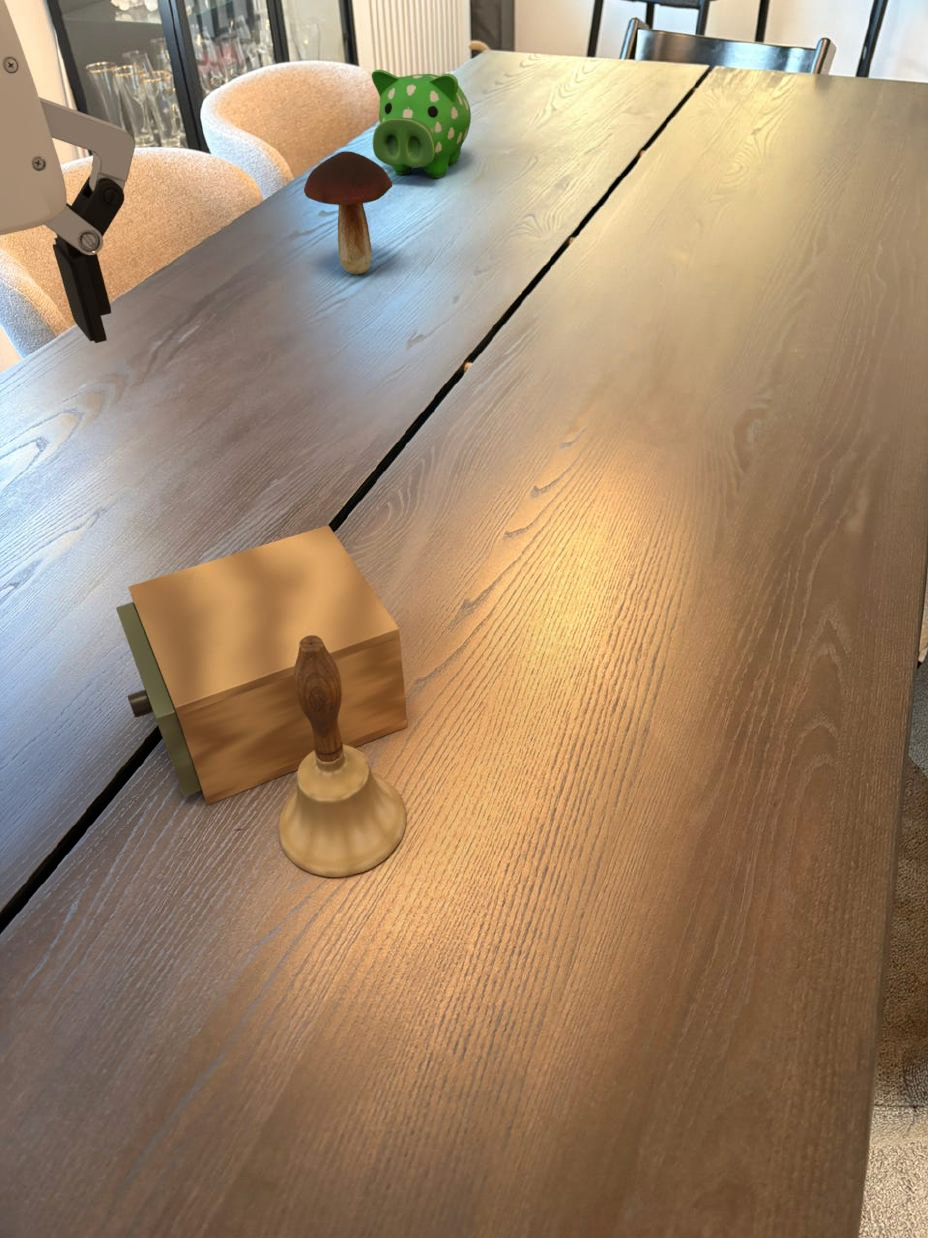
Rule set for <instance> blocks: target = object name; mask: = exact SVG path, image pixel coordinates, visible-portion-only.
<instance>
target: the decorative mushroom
mask: <svg viewBox="0 0 928 1238" xmlns="http://www.w3.org/2000/svg"><path fill="white" fill-rule="evenodd" d="M391 188H393V182H392V180H391V178H390V176H389V175H388V173H387V172H386V170H385V169H384V168H383V167H382V166H381V165H379V164H378V163H377V162H375V161H374V160H372V159H371V158H369V157H367V156H365V155H363V154H360V153H357V152H355V151H346V150H345V151H344V150H343V151H339V152H337V153H336V154H334V155H332V156H330V157H328V158H327V159H325V160H324V161H322V162H321V163H319V164H318V165H317V166H316V167H315V168H313V170H311V172H310V174H309V175H308V177H307V179H306V182H305V184H304V188H303V192H304V196H305V197H306V198H308V199H310V200H312V201H315V202H318V203H321V204H324V205H325V204H326V205H335V206H338V211H337V212H338V214H337V247H338V257H339V261H340V264H341V266H342V268H343V270H344V271H346V272H347V273H350V274H352V275H361V274H364V273H366V272H367V271H368V270H369V269H370V267H371V266H372V260H373V259H372V257H373V252H372V251H373V250H372V243H371V236H370V230H369V223H368V218H367V215H366V210H365V208H364V204H368V203H372V202H375V201H378V200H379V199H381V198H382V197H384V196H385V195H386V193H388V191H389V190H390V189H391Z"/></svg>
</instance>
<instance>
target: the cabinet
mask: <svg viewBox="0 0 928 1238" xmlns="http://www.w3.org/2000/svg"><path fill="white" fill-rule="evenodd" d="M128 591H129V594H130V597H131V600H132V602H133V603H134V605H135V607H136V610H137V612H138V615H139V618H140V620H141V623H142V625H143V628H144V631H145V633H146V636H147V638H148V641H149V643H150V646H151V649H152V651H153V654H154V656H155V659H156V662H157V664H158V667H159V669H160V672H161V674H162V677H163V680H164V682H165V685H166V687H167V690H168V693H169V695H170V698H171V700H172V703H173V705H174V708H175V711H176V713H177V716H178V720H179V723H180V726H181V729H182V732H183V735H184V738H185V741H186V744H187V747H188V750H189V753H190V756H191V759H192V762H193V765H194V768H195V771H196V774H197V777H198V780H199V783H200V786H201V793H202V795H203V798H204V800H205V803H206V805H207V806H209V805H212V804H214V803H216V802H219V801H221V800H224V799H226V798H230V797H232V796H234V795H237V794H241V793H242V792H245V791H247V790H249V789H252V788H255V787H257V786H260V785H262V784H265V783H268V782H271V781H272V780H276V779H278V778H280V777H282V776H283V777H284V776H285V775H288V774H291V773H293V772H295V771H298V769H299V766H300V764H301V763H302V761H303V760H304V758H305V757H306V756H307V755H308V754H310V753H311V752H312V751H314V740H313V731H312V726H311V723H310V721H309V720H308V718H307V717H306V715H305V714H304V712H303V711H302V709H301V707H300V704H299V702H298V699H297V695H296V691H295V685H294V669H295V663H296V660H297V656H298V652H299V643H300V641H301V639H303V638H304V637H306V636H310V635H315V636H318V637H320V638H321V639H322V641H323V643H324V646H325V647H326V649H327V651H328V652H329V653H330V655H331V656H332V658H333V660H334V661H335V663H336V665H337V668H338V671H339V674H340V679H341V688H342V700H341V706H340V710H339V714H338V727H339V732H340V736H341V741H342V744H343V745H347V746H351V747H353V748H357V747H360V746H362V745H365V744H367V743H370V742H372V741H375V740H377V739H380V738H382V737H385V736H387V735H390V734H393V733H396V732H398V731H400V730H403V729H405V728H408V715H407V703H406V693H405V681H404V679H405V678H404V670H403V658H402V647H401V636H400V628H399V626H398V625H397V623H396V622H395V620H394V619H393V618H392V616H391V614H390V613H389V612H388V610H387V609H386V607H385V606H384V604H383V602H382V601H381V600H380V598H379V597H378V596H377V594H376V593H375V591H374V589H373V588H372V587H371V586H370V584H369V582H368V580H367V579H366V578H365V576H364V575H363V573H362V572H361V570H360V569H359V567H358V566H357V565H356V563H355V562H354V560H353V559H352V557H351V556H350V554H349V553H348V551H347V550H346V549H345V547H344V545H342V543H341V541H340V539H338V536H336V534H335V532H334V531H333V529H332V527H330V525H329V524H328V525H324V526H321V527H317V528H314V529H311V530H307V531H304V532H301V533H298V534H294V535H291V536H288V537H285V538H281V539H279V540H275V541H272V542H269V543H265V544H262V545H259V546H255V547H252V548H249V549H246V550H243V551H239V552H236V553H233V554H230V555H226V556H223V557H220V558H216V559H212V560H211V561H207V562H203V563H200V564H197V565H194V566H191V567H187V568H184V569H180V570H177V571H173V572H172V573H168V574H164V575H162V576H157V577H155V578H152V579H149V580H145V581H142V582H139V583H135V584H132V585H129V586H128Z"/></svg>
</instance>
